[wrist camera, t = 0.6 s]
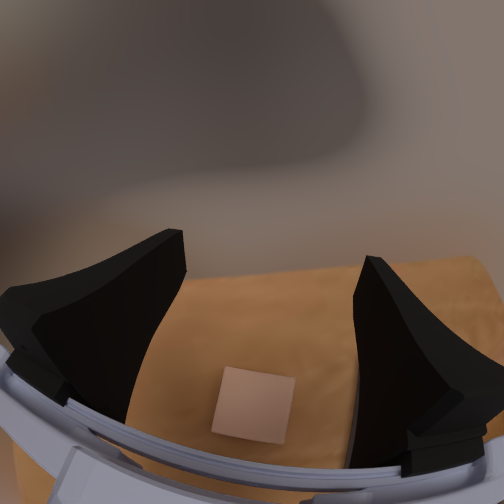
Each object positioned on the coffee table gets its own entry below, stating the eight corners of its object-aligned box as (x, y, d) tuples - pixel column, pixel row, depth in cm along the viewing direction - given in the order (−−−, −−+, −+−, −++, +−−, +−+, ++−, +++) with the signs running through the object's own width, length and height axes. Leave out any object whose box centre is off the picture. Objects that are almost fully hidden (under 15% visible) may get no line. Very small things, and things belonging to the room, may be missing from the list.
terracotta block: (278, 436, 20) (283, 444, 15) (222, 427, 21) (210, 431, 16) (288, 385, 23) (295, 377, 18) (233, 376, 23) (225, 366, 18)
